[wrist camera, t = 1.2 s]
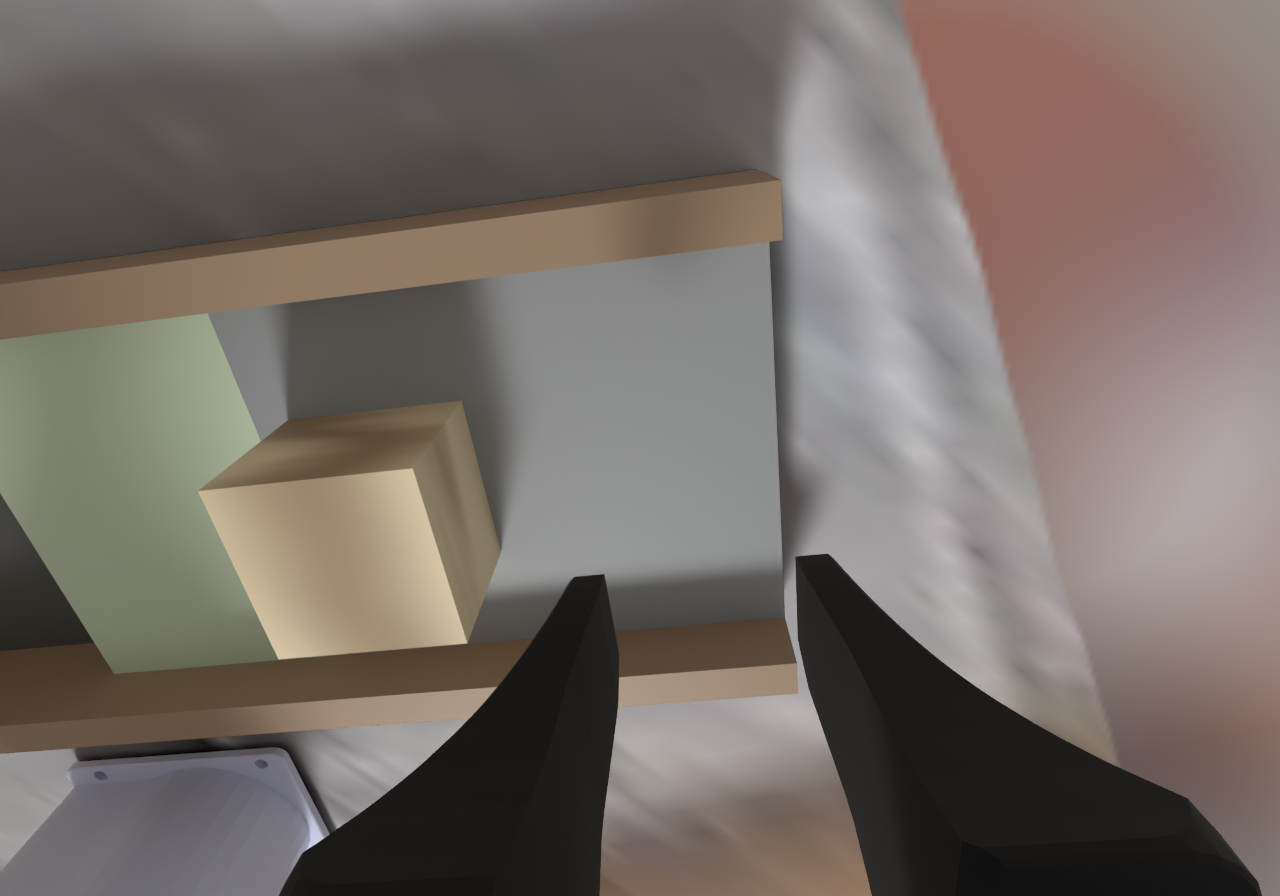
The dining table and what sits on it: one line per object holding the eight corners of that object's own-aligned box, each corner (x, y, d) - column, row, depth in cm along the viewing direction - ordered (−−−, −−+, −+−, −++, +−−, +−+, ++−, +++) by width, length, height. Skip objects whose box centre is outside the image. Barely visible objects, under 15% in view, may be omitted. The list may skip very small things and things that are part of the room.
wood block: (345, 566, 21) (278, 659, 17) (287, 420, 18) (197, 491, 15) (501, 551, 20) (467, 643, 17) (461, 400, 18) (412, 468, 14)
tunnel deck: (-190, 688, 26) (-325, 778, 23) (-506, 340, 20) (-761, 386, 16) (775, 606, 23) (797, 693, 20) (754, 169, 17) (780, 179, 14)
